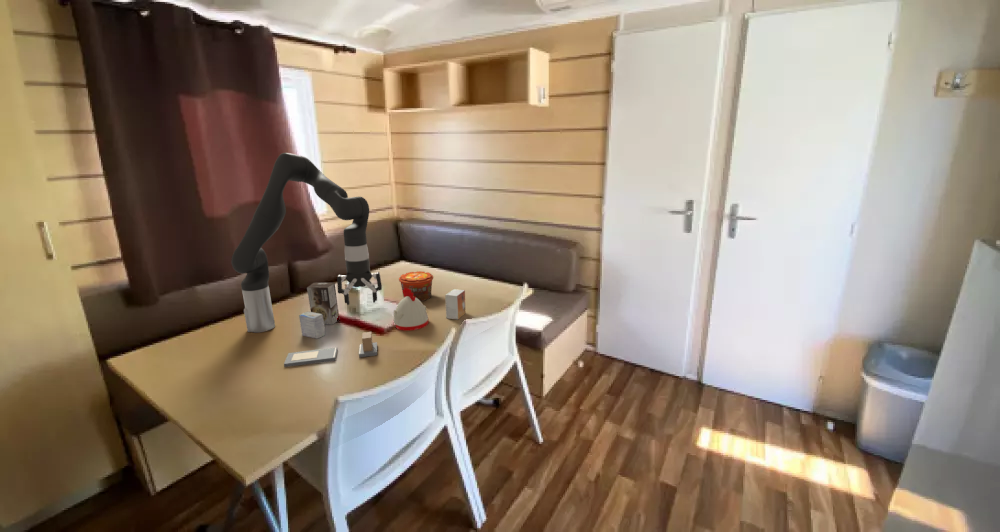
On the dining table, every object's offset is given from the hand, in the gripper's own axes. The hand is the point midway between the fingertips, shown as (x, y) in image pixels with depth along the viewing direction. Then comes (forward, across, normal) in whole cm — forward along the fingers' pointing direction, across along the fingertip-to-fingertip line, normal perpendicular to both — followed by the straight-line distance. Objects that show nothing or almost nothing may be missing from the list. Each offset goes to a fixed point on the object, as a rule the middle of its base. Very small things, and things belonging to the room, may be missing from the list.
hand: (361, 303), depth 151 cm
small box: (+18, +36, +23) cm, 47 cm away
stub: (+18, +1, -1) cm, 18 cm away
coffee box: (+19, -17, +32) cm, 41 cm away
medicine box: (+19, -20, +19) cm, 33 cm away
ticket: (+18, -18, -1) cm, 26 cm away
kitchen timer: (+18, +17, +20) cm, 32 cm away
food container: (+18, +22, +51) cm, 59 cm away
